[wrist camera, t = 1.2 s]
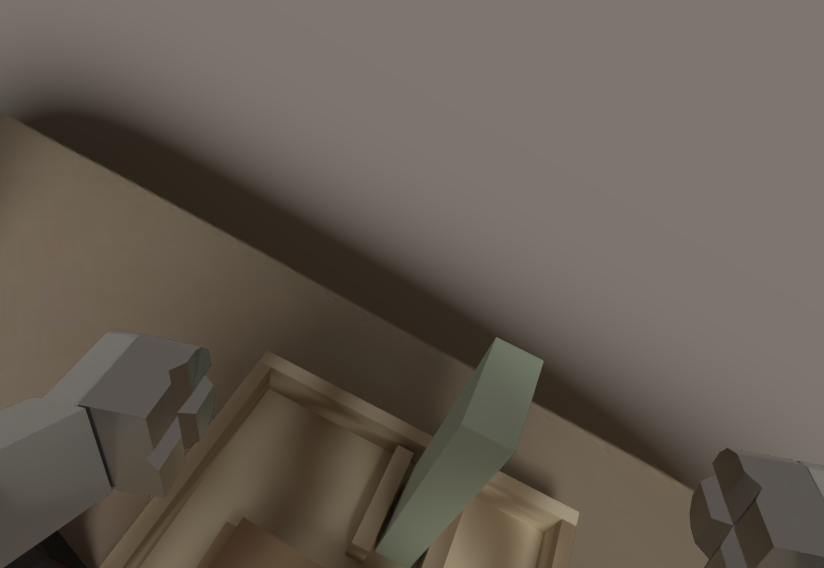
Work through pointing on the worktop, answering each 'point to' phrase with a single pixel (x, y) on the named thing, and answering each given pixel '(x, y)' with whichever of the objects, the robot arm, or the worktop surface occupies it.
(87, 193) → the worktop surface
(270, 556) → the offcut stack
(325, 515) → the beige wooden tray
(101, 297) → the worktop surface
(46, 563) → the barrier
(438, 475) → the sage green plank
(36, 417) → the robot arm
